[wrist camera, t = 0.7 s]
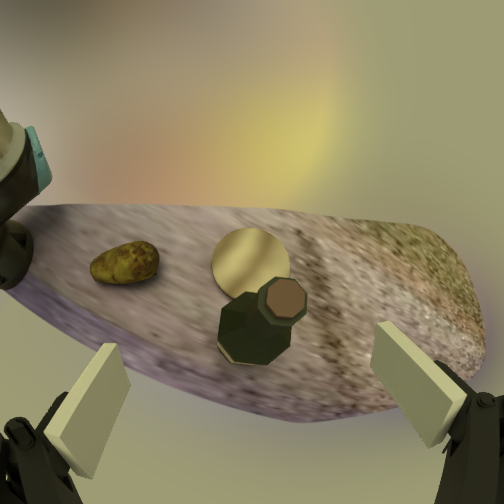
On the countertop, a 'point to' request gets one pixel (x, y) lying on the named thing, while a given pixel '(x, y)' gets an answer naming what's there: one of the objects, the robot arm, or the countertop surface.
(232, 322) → the wine bottle
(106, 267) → the potato
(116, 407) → the robot arm
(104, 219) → the countertop surface
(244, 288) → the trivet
